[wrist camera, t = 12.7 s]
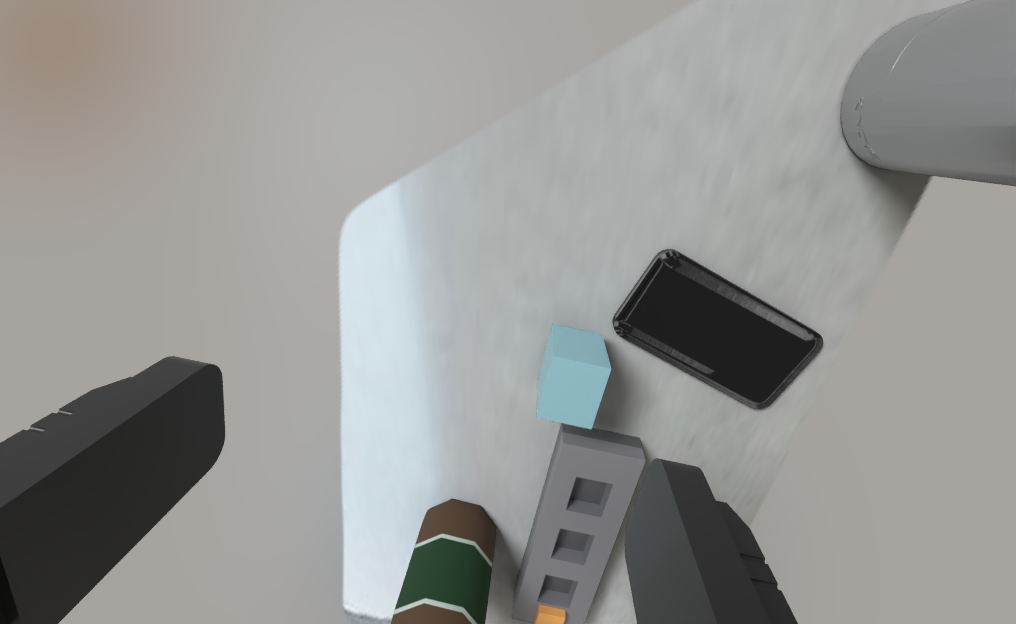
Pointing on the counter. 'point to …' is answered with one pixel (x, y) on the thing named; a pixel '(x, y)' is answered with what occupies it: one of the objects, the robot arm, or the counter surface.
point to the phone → (715, 330)
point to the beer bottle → (449, 567)
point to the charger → (572, 376)
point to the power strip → (576, 524)
